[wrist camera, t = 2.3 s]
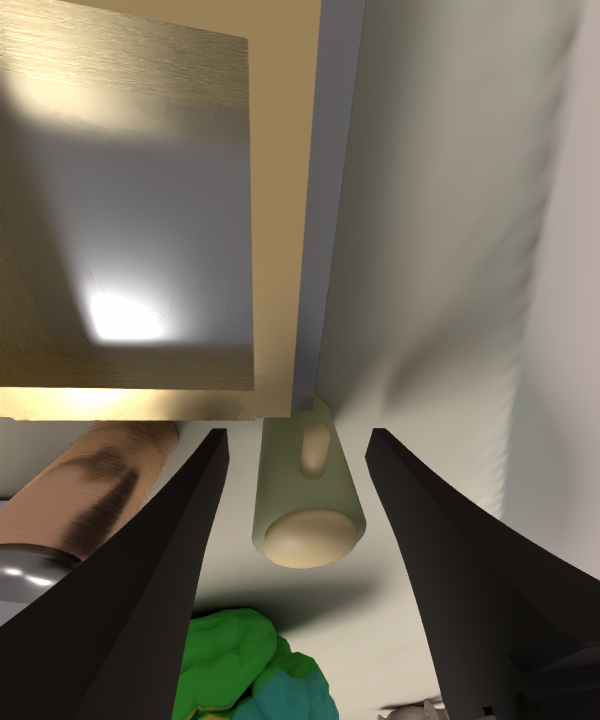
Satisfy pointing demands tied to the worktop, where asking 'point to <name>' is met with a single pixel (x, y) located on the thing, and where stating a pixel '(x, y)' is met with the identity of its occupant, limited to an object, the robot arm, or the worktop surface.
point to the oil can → (305, 492)
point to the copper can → (79, 503)
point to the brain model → (247, 673)
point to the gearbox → (169, 203)
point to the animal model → (417, 713)
